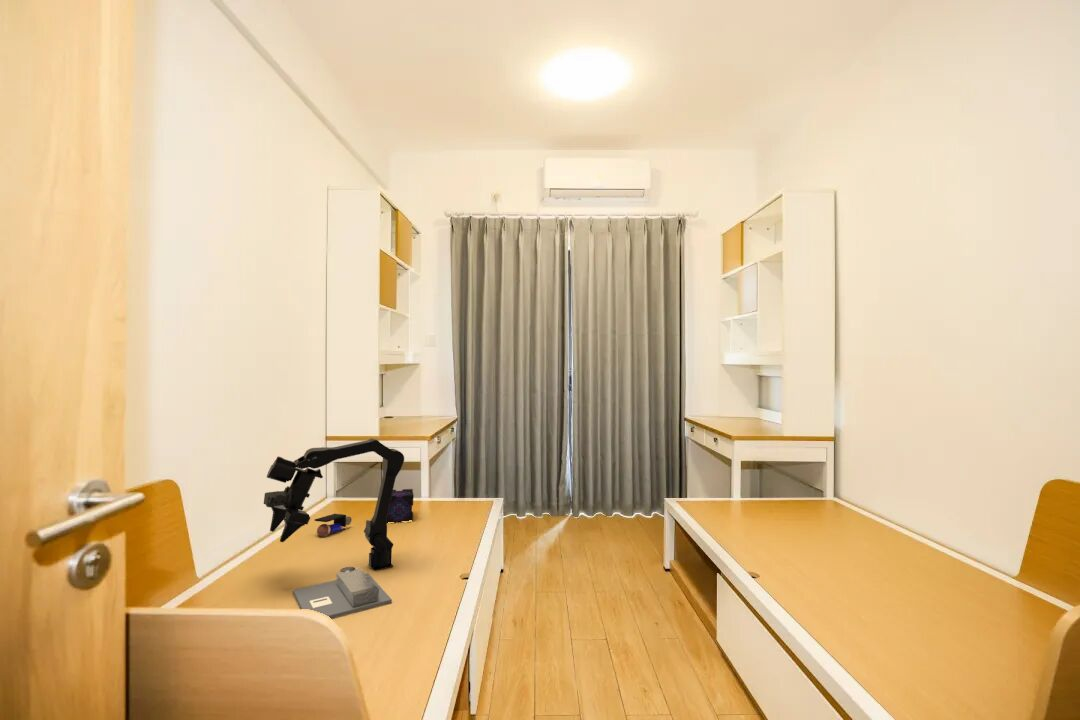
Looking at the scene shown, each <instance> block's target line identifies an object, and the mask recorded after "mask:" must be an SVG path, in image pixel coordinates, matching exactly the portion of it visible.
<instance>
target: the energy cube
mask: <svg viewBox="0 0 1080 720" xmlns="http://www.w3.org/2000/svg"><path fill="white" fill-rule="evenodd" d="M413 506H414V492H413V488H405V489H404V488H403V489H402V490H397V489H393V492H392V496H391V501H390V505H389V510H388V514H387V523H388V522H395V523H397V522H396V521H409V520H414V519H413V517H414V512H413Z"/></svg>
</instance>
